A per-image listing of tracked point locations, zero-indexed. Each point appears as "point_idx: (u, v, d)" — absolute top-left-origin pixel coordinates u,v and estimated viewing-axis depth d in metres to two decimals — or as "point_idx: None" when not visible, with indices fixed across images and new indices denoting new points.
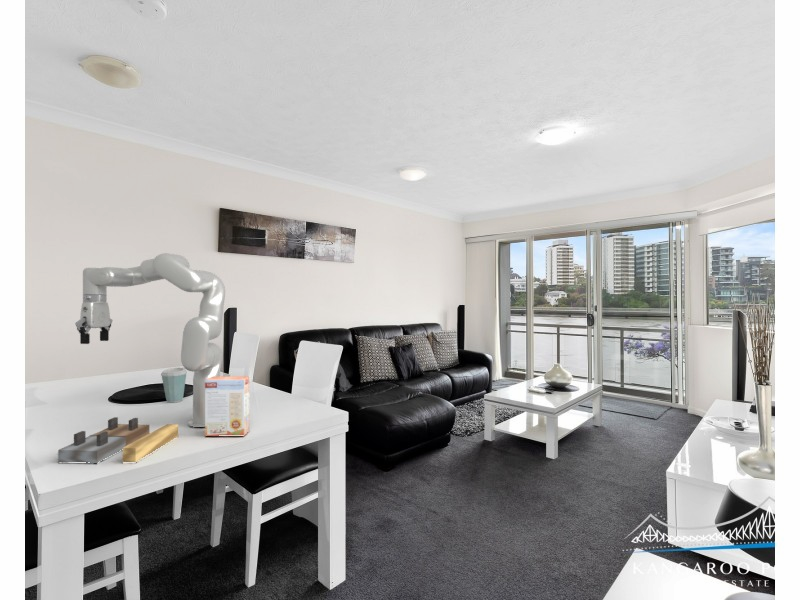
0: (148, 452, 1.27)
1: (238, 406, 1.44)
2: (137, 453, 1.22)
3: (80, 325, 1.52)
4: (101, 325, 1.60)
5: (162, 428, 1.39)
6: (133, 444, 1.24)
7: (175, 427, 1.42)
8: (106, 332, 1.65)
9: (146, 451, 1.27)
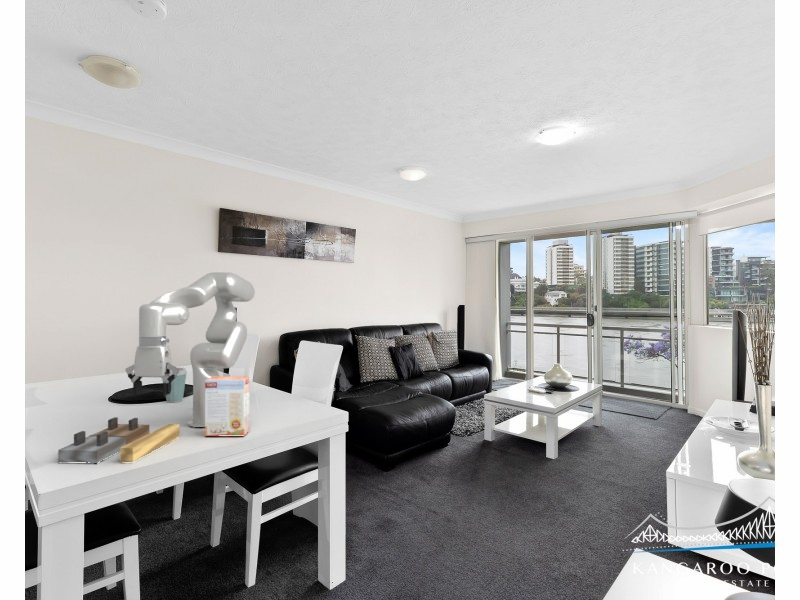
0: (146, 452, 1.27)
1: (238, 406, 1.44)
2: (135, 453, 1.22)
3: None
4: None
5: (163, 428, 1.39)
6: (131, 444, 1.24)
7: (176, 427, 1.42)
8: (141, 382, 1.33)
9: (145, 451, 1.26)
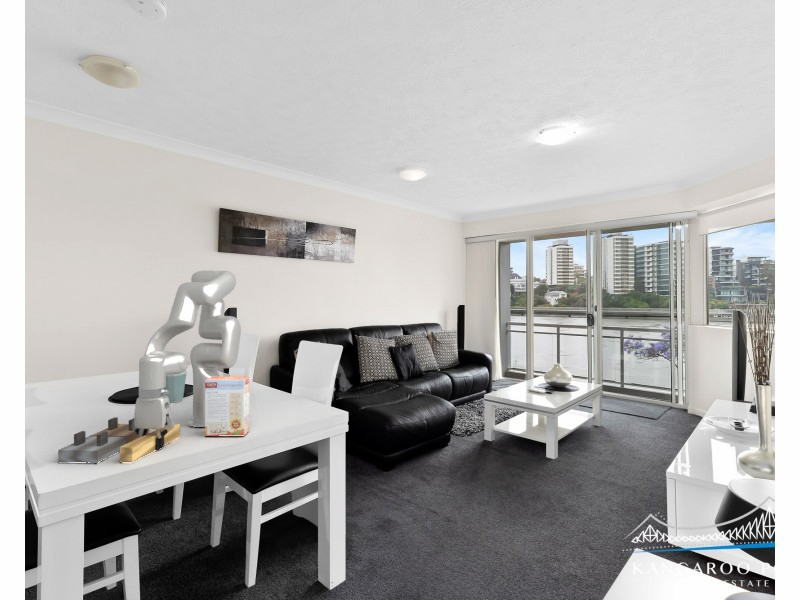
0: (146, 452, 1.27)
1: (238, 406, 1.44)
2: (134, 453, 1.22)
3: None
4: None
5: None
6: (131, 443, 1.24)
7: (176, 427, 1.41)
8: None
9: (144, 450, 1.26)
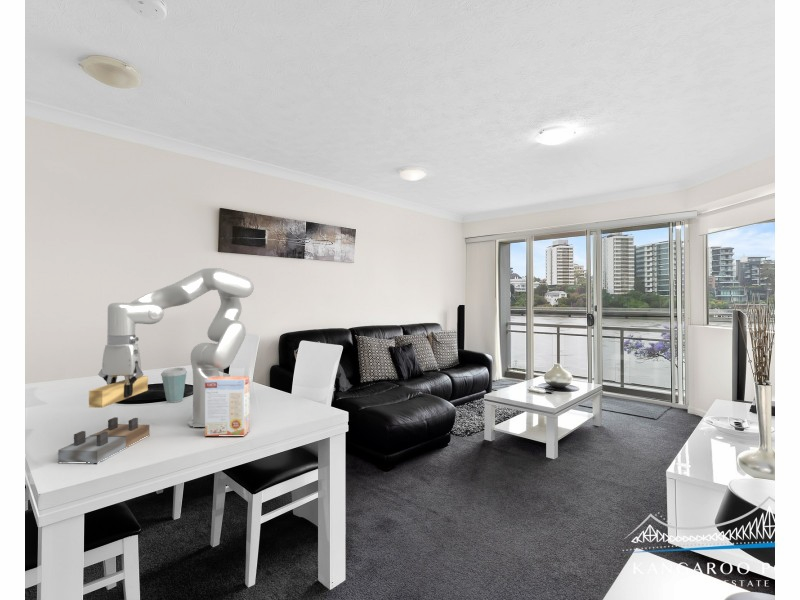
0: (116, 398, 1.27)
1: (238, 406, 1.44)
2: (104, 396, 1.22)
3: None
4: None
5: None
6: (100, 388, 1.24)
7: (144, 378, 1.42)
8: None
9: (114, 396, 1.26)
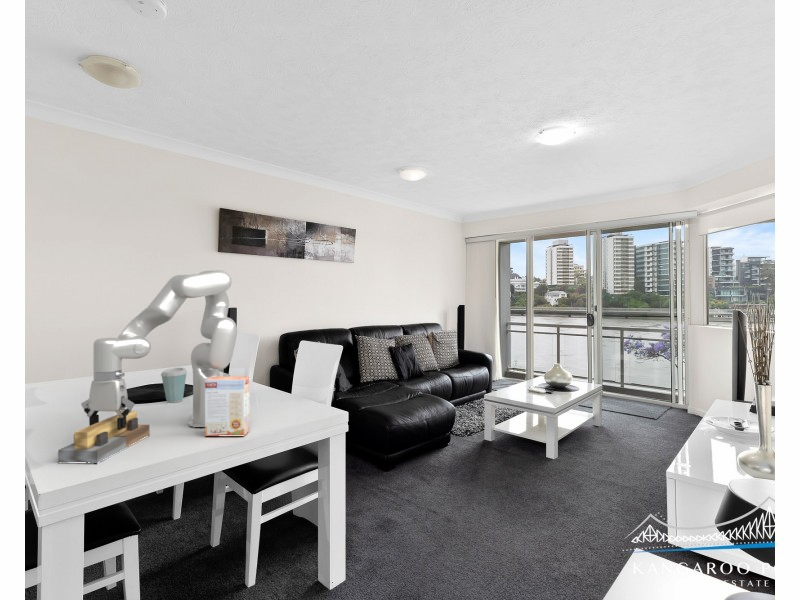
0: None
1: (238, 406, 1.44)
2: (90, 437, 1.23)
3: None
4: None
5: None
6: (86, 429, 1.25)
7: (133, 414, 1.42)
8: (97, 416, 1.34)
9: None
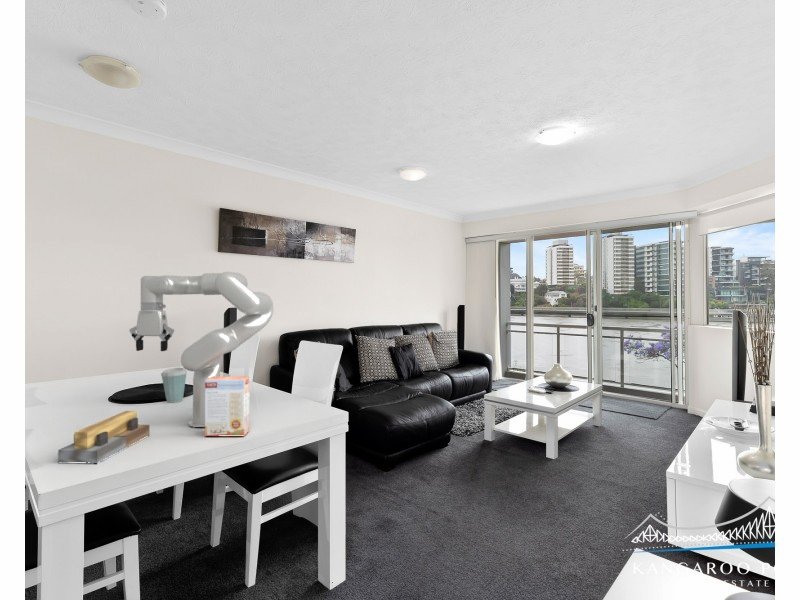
0: None
1: (238, 406, 1.44)
2: (90, 437, 1.23)
3: None
4: None
5: (120, 414, 1.39)
6: (86, 429, 1.25)
7: (133, 414, 1.42)
8: (142, 341, 1.61)
9: None
